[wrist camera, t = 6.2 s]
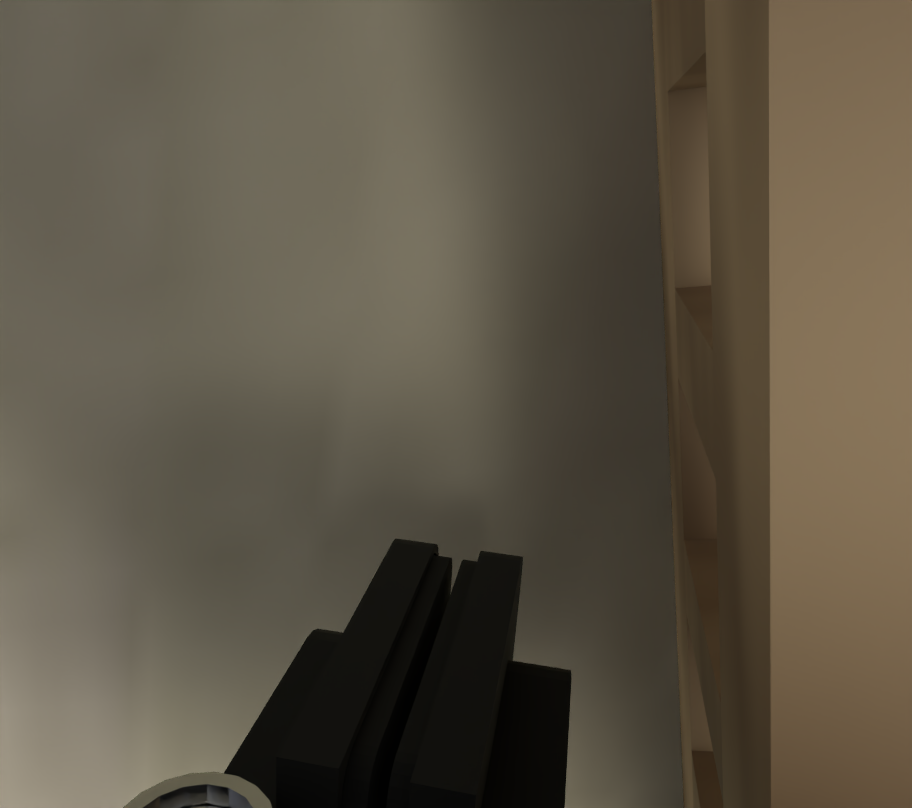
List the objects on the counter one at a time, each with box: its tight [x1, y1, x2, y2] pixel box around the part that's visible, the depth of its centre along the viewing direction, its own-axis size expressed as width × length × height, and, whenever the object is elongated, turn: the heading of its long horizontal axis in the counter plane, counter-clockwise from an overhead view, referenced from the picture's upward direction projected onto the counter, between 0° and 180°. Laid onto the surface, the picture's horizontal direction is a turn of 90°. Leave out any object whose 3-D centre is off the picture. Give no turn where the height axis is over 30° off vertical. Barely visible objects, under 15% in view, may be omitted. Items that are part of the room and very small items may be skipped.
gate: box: [652, 0, 912, 808], centre depth 8 cm, size 18×1×7 cm, turn 7°
